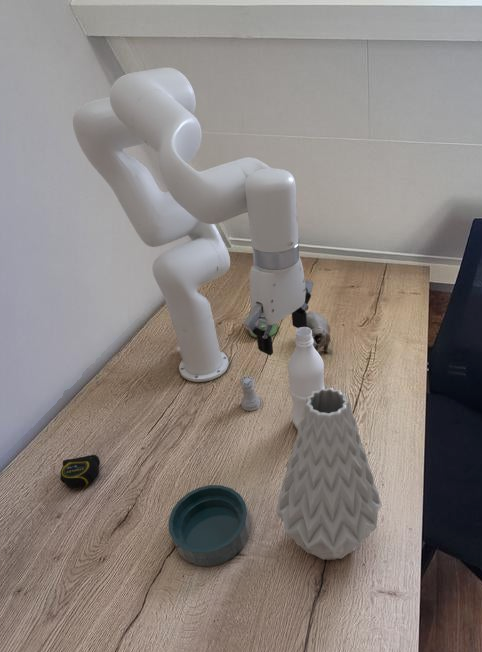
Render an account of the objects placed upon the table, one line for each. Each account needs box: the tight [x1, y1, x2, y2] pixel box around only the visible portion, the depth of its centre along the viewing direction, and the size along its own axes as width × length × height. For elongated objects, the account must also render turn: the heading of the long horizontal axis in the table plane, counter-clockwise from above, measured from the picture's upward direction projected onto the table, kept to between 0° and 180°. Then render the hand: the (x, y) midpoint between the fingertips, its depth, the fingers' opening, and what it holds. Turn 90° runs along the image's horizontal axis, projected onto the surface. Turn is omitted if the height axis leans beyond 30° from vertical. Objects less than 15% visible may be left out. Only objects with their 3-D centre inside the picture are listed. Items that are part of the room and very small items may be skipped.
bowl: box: [168, 484, 251, 567], centre depth 80 cm, size 13×13×5 cm
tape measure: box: [59, 454, 101, 490], centre depth 91 cm, size 7×7×4 cm
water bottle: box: [287, 327, 325, 430], centre depth 91 cm, size 7×7×25 cm
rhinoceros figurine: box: [306, 310, 331, 354], centre depth 118 cm, size 8×14×15 cm
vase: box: [276, 386, 382, 561], centre depth 69 cm, size 17×17×33 cm
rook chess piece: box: [239, 375, 261, 412], centre depth 103 cm, size 4×4×8 cm
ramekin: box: [244, 313, 278, 339], centre depth 127 cm, size 9×9×4 cm
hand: (283, 339), depth 86 cm, fingers open, 9 cm apart
